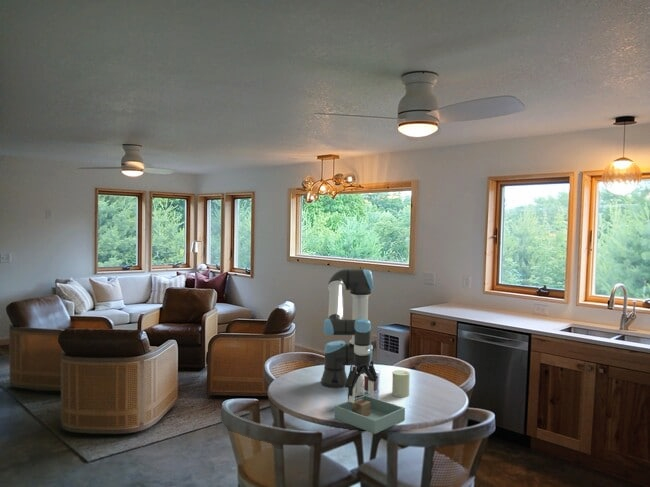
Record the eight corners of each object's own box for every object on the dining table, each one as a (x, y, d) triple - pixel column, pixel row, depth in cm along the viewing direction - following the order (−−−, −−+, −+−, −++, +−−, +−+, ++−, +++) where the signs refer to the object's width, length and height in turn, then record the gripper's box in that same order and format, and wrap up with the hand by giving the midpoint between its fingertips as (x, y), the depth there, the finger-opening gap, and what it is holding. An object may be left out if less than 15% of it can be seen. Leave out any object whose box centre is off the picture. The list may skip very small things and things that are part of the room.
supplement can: (346, 401, 241) (346, 371, 241) (362, 400, 242) (363, 371, 242) (348, 407, 233) (349, 376, 233) (365, 406, 234) (365, 376, 234)
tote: (334, 418, 219) (334, 406, 219) (364, 406, 235) (365, 394, 234) (374, 434, 203) (375, 421, 203) (404, 420, 218) (404, 407, 218)
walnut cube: (352, 414, 222) (352, 401, 222) (360, 411, 226) (360, 398, 226) (362, 418, 218) (362, 405, 218) (370, 414, 222) (370, 402, 222)
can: (409, 397, 247) (409, 374, 247) (391, 396, 249) (391, 373, 249) (409, 392, 256) (410, 369, 256) (392, 390, 258) (392, 368, 258)
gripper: (350, 360, 210) (349, 407, 211) (385, 349, 228) (384, 393, 229) (337, 356, 215) (337, 403, 216) (372, 346, 233) (372, 389, 234)
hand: (361, 398), depth 222 cm, fingers open, 13 cm apart
